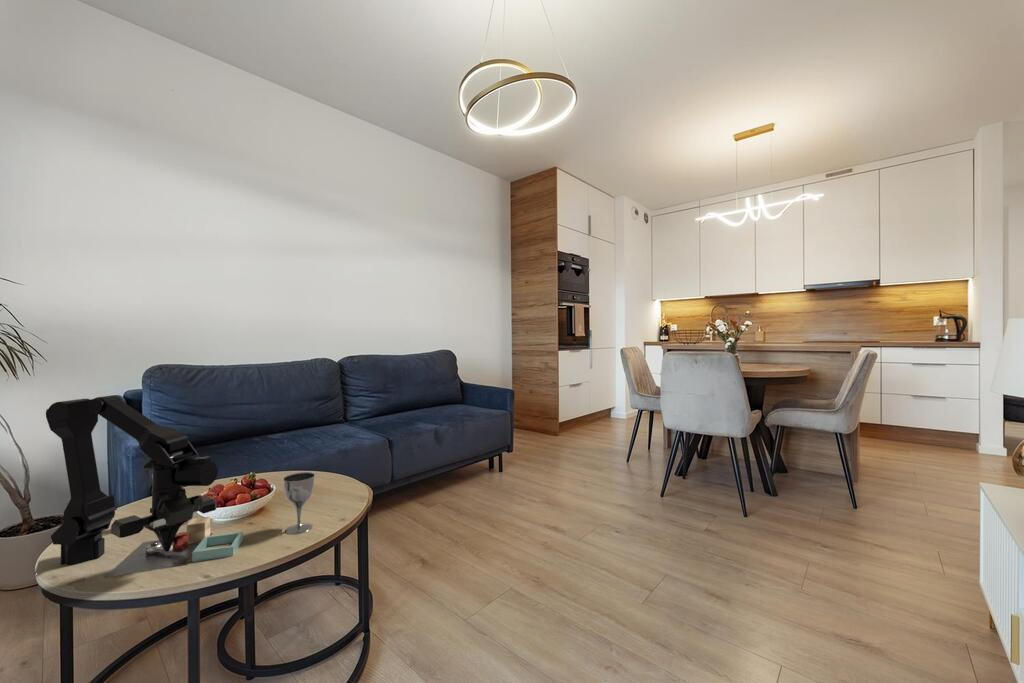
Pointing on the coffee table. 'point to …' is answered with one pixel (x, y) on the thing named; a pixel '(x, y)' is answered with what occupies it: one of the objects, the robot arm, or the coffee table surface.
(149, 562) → the bedplate
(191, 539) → the block
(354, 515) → the coffee table surface
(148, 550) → the crank
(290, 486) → the wine glass
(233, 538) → the tray
